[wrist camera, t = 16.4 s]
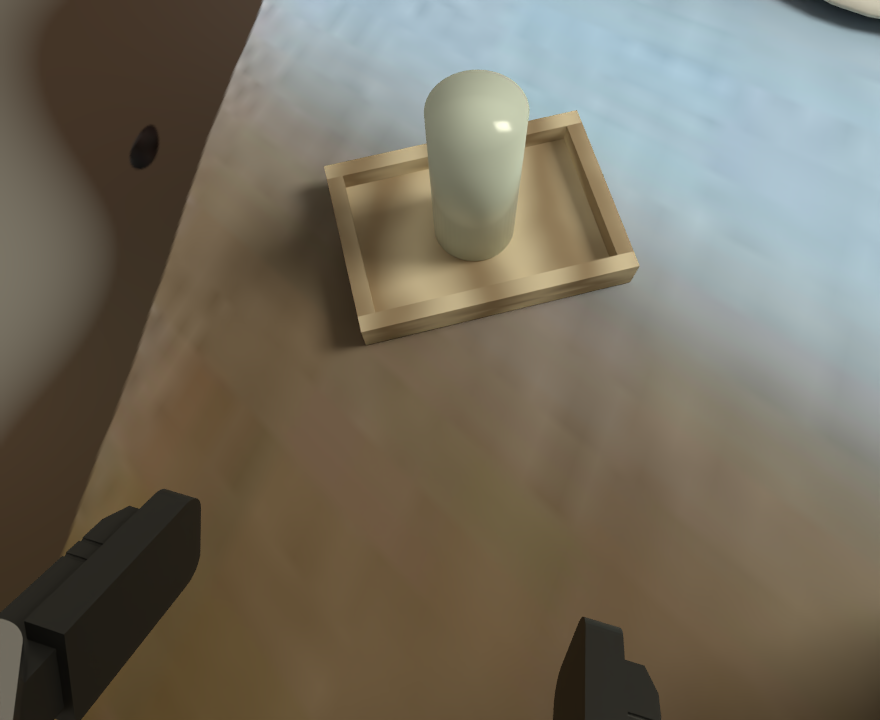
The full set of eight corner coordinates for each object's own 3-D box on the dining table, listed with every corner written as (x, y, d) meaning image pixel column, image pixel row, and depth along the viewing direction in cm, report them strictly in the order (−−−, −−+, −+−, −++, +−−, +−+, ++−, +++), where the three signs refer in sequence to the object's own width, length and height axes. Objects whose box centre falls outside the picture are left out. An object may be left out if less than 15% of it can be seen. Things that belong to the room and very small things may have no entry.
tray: (571, 132, 51) (576, 110, 49) (630, 281, 46) (639, 265, 44) (330, 186, 50) (324, 166, 47) (366, 345, 45) (361, 332, 43)
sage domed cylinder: (503, 185, 48) (515, 61, 37) (522, 252, 46) (540, 142, 35) (427, 200, 48) (415, 80, 37) (442, 268, 46) (435, 162, 35)
